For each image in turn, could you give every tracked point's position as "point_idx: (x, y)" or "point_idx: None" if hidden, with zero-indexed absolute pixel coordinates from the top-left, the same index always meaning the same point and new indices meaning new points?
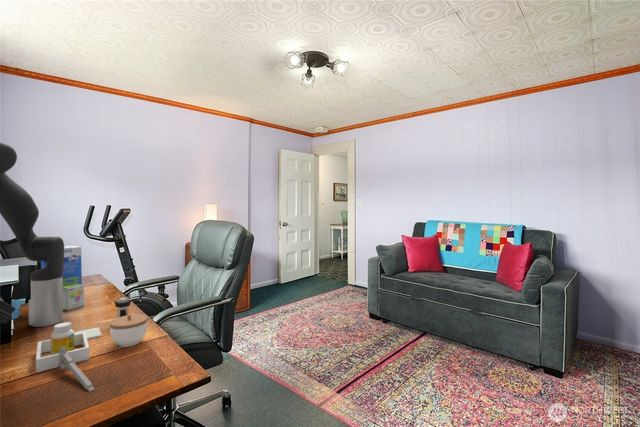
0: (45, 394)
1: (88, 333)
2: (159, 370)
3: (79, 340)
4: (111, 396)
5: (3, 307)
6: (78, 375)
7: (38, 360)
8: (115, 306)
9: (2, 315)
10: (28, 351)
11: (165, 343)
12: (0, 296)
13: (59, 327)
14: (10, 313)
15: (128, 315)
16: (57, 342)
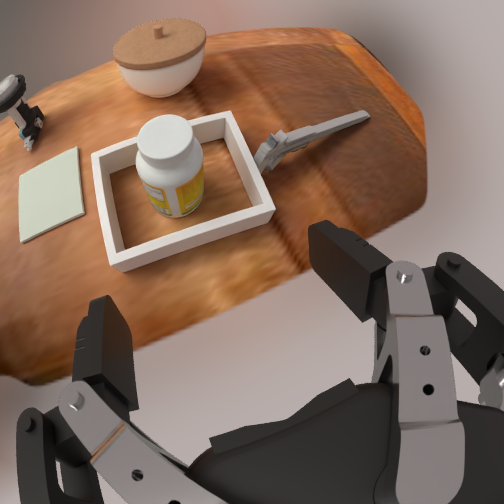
0: (370, 173)
1: (48, 182)
2: (317, 51)
3: (106, 173)
4: (381, 97)
5: (120, 362)
6: (346, 123)
7: (273, 205)
8: (8, 108)
9: (369, 248)
10: None
11: None
12: (26, 421)
13: (191, 136)
14: (123, 321)
15: (161, 27)
16: (201, 170)
